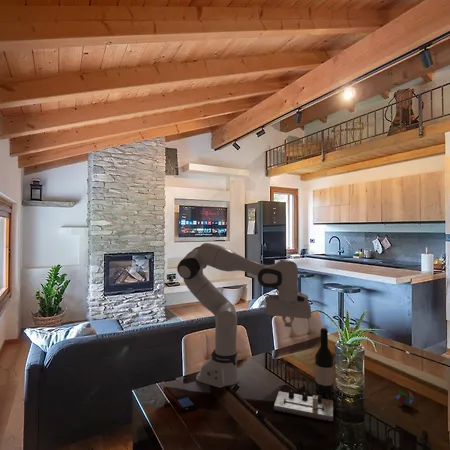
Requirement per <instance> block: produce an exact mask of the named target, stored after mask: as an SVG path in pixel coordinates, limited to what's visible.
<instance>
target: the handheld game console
mask: <svg viewBox="0 0 450 450" xmlns="http://www.w3.org/2000/svg"><path fill="white" fill-rule="evenodd" d="M165 389H166V391H167V393H168V394H169V396H170V397H171V398H172V400H171V401H172V402H173V403H174V404H175V406H177V407H178V409H179V410H180V412H181V413H182V414H183V415H184V414H186V413H190V412H192V411H193V412H194V411H196V410H198V409H199V406H198V404H197V403H196V402H195V401H194V400H193V399H192V398H191V397H190V396H189V395H188V394H184V395H180V396H178V397H176V396H175V395H174V394H173V393H172V391H171V390H170V389H169V388H168V387H167V386H166V387H165Z"/></svg>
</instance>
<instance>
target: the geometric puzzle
mask: <svg viewBox="0 0 450 450" xmlns="http://www.w3.org/2000/svg"><path fill="white" fill-rule="evenodd" d="M395 394H397V395H395V396H394V399H395V400H396V401H397V402H399V406H400V408H405V406H406V407H408V408H412V405H411V404H413V403H414V401H415V400H416V399H415V397H414V395H413V394H412V393H411V392H410V391H409V389H406V390H405V392H404V391H403V390H399V389H397V393H395ZM403 405H405V406H403Z"/></svg>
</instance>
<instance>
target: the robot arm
mask: <svg viewBox="0 0 450 450" xmlns="http://www.w3.org/2000/svg"><path fill="white" fill-rule="evenodd" d="M207 266H209V267H212V268H214V269H216V270H219V271H223V272H235V271H237V272H238V271H239V272H241V271H242V272H245V273H248V274H251V275H253V276H257V281H258V282H257V283H258V284H259V285H260V286H261V287H263V288H266V289H271V288H275V287H277V288H278V291H277V293H278V294H268V295H266V297H265V303H266V305H265V314H266V315H267V316H273V317H274V316H275V317H281V319H282V321H283V323H284V327H285V328H286V327H287V328H292V327H293V326H292V325H293V324H292V323H293V321H294V320H295V318H296V319H306V320H309V319H310V318H311V317H312V309H311V303H310V302H309V301H308V300H309V296H308V295H307V294H305V293H302V292H300V291H299V288H298V281H299V271H298V270H299V269H298V265H297V264H296V262H294V261H293V260H290V259H289V260H288V259H280V260H279V261H277V262H276V263H273V264H263V263H260V262H257V261H255V260H251V259H249V258H246V257H244V256H241V254H238V253H236V252H234V251H233V250H232V249H231V250H230V249H229V248H227V247H224V246H222V245H218V244H215V243H209V242H204V243H202V244H201V245H200V246H196V247H194V248H193V249H192V250H191V251H190V252H188V253H187V254H186V255H185V256H184V257H183V258H182V259H181V260H180V262H179V263H178V264H177V267H176V271H177V273H178V275H179V276H180V278H182V279H183V283H184V284H185V286H186V287H187V289H188V290H189V291H190V293H191V294H192V295H193V296H194V298H196V299H197V300H198V302H199V303H200V304H201V305H202V306H203V307H205V308H206V309H207V310H208V311H209V312H211V313H212V314H213V316H214V317H215V323H214V324H215V326H214V327H215V331H214V332H215V335H214V337H215V338H214V339H215V340H214V341H215V342H214V343H215V345H214V346H215V348H214V349H213V351H212V352H211V354H210V357H211V358H209V359H208V360H207V361H205V363H203V365H202V366H201V368H200V371H199V372H198V373H197V375H196V376H195V377H196V378H195V381H196V382H200V383H202V384H206V385H209V386H213V387H217V388H223V387H228V386H233V385H235V384H238V383H239V382H240V377H239V372H238V365H237V364H238V352H237V330H238V314H237V311H236V307H235V306H234V304H233V303H231V301H230V300H229V299H228V298H226V296H224V294H222V292H220V291H219V290H218V289H217V288H216V286H215V285H214V284H213V283H212V282H211V281H210V280H209V279H208V278H207V277H206V275H205V273H204V269H206V268H207ZM286 318H290V319H289V320H290V321H287V319H286Z"/></svg>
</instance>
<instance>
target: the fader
mask: <svg viewBox="0 0 450 450" xmlns="http://www.w3.org/2000/svg"><path fill="white" fill-rule="evenodd" d="M316 395H317V394H315V395H314V394H313V395H312V397H313V408H315V409H318V396H316Z"/></svg>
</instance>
